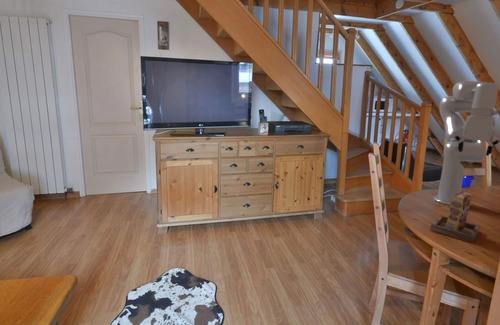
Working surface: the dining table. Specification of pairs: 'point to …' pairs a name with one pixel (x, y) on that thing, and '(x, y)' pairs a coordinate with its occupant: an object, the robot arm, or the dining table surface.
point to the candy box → (458, 211)
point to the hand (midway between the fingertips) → (473, 153)
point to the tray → (464, 234)
